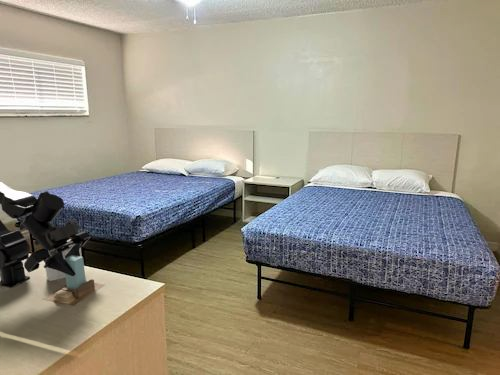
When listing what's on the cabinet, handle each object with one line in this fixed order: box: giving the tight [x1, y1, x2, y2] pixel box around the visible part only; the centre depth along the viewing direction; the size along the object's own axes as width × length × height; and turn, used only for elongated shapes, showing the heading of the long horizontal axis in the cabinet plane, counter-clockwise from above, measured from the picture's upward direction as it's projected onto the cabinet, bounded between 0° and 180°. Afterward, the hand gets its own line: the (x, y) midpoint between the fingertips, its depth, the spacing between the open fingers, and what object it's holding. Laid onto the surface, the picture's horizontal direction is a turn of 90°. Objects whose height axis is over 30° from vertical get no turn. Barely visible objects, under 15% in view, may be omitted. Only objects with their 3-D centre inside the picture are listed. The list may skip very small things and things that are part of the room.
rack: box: [42, 278, 105, 307], centre depth 100 cm, size 11×12×4 cm
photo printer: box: [45, 238, 83, 282], centre depth 109 cm, size 10×4×12 cm, turn 123°
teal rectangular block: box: [64, 255, 86, 290], centre depth 98 cm, size 4×3×10 cm
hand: (78, 272), depth 98 cm, fingers closed on teal rectangular block, 3 cm apart
